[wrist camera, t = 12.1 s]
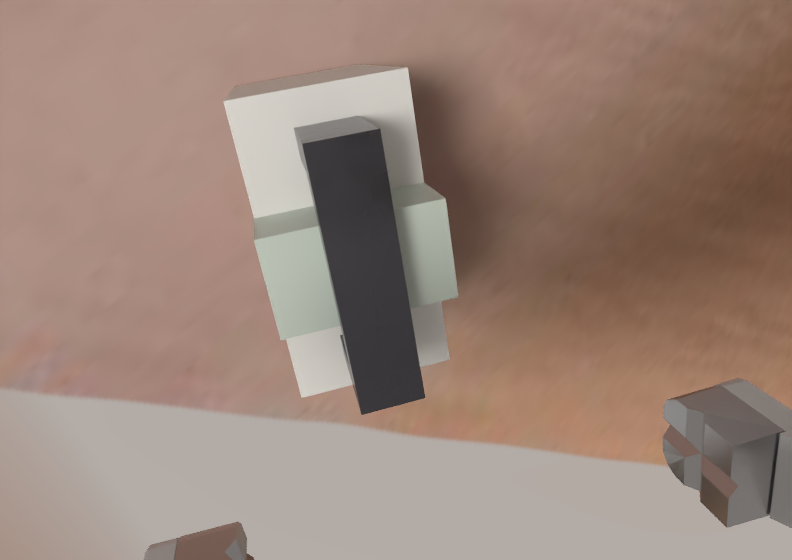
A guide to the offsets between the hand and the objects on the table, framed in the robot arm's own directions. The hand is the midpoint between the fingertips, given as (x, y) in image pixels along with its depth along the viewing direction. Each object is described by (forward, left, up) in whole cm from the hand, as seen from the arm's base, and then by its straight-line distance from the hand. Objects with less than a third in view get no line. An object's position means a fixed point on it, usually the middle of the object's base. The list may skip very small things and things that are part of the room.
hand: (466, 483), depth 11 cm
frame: (0, 0, -15) cm, 15 cm away
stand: (0, 0, -27) cm, 27 cm away
